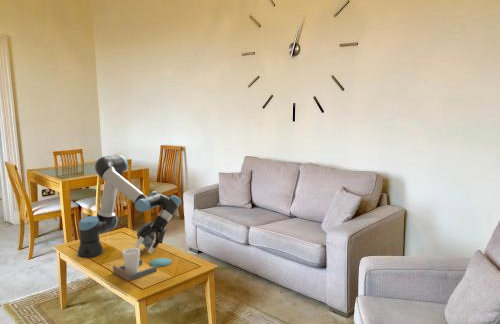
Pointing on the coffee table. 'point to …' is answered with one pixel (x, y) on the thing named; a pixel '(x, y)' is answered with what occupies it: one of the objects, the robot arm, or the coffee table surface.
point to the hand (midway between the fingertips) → (142, 249)
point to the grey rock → (149, 238)
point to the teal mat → (160, 262)
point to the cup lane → (128, 277)
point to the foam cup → (131, 260)
